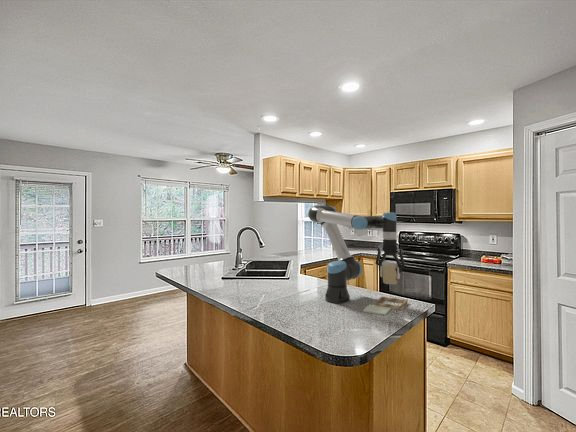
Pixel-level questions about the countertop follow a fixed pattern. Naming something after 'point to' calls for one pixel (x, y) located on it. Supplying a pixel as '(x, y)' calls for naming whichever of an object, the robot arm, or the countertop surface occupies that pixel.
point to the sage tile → (377, 309)
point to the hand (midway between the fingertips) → (390, 277)
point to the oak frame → (392, 301)
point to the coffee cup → (389, 272)
